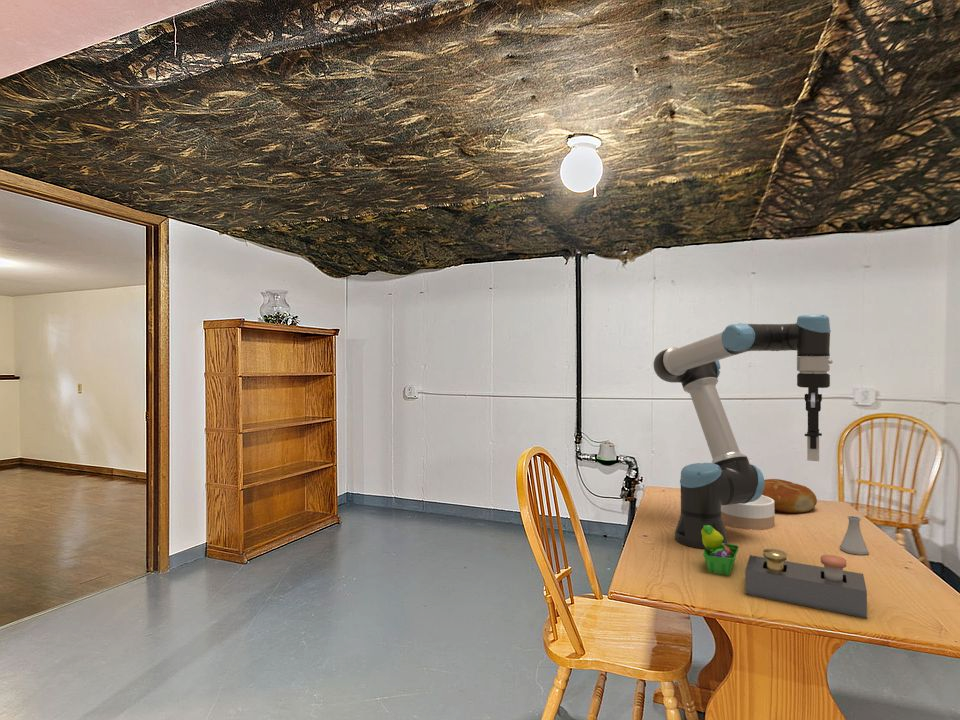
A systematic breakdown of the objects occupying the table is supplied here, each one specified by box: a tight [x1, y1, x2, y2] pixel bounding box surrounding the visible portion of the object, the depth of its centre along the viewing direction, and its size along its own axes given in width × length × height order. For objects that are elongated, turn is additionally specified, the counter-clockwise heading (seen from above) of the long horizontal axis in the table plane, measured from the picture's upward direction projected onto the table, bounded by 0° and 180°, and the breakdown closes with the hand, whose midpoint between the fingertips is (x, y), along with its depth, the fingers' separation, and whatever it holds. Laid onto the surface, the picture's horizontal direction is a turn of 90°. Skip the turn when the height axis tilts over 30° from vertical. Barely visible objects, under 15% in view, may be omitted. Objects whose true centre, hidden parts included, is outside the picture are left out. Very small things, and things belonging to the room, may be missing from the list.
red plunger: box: [820, 554, 847, 582], centre depth 127 cm, size 5×5×8 cm
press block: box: [744, 554, 868, 619], centre depth 130 cm, size 24×11×6 cm, turn 58°
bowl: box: [721, 495, 776, 531], centre depth 188 cm, size 17×17×8 cm
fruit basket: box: [701, 525, 740, 576], centre depth 149 cm, size 11×9×11 cm
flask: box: [839, 515, 870, 556], centre depth 160 cm, size 7×7×10 cm
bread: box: [762, 478, 818, 514], centre depth 206 cm, size 23×23×10 cm
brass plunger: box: [762, 548, 788, 572], centre depth 134 cm, size 5×5×8 cm
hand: (813, 460), depth 147 cm, fingers closed
